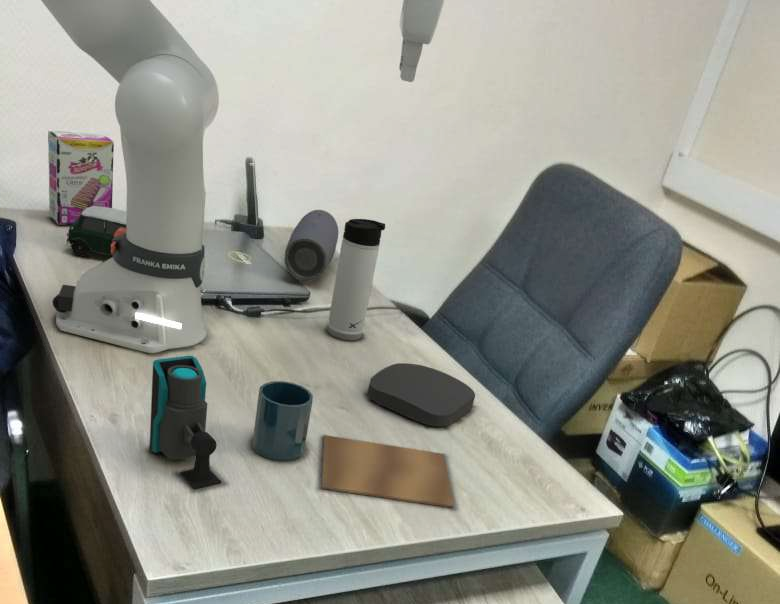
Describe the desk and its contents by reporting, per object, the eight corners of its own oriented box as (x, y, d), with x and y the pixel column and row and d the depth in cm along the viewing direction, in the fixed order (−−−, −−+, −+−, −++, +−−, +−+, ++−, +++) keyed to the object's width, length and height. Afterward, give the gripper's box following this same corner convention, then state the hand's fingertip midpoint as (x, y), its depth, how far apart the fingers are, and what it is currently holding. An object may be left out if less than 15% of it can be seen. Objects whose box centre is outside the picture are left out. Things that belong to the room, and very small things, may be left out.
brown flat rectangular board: (321, 488, 101) (322, 486, 100) (323, 437, 111) (324, 435, 111) (452, 507, 103) (453, 505, 103) (442, 456, 114) (443, 453, 114)
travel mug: (358, 344, 140) (381, 229, 129) (322, 334, 141) (342, 218, 130) (366, 332, 146) (389, 221, 134) (332, 323, 146) (351, 210, 135)
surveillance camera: (193, 399, 88) (150, 360, 93) (186, 491, 94) (147, 449, 100) (238, 392, 91) (194, 354, 97) (228, 481, 98) (188, 441, 103)
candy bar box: (58, 226, 158) (56, 137, 149) (49, 218, 161) (46, 129, 151) (113, 226, 165) (114, 140, 156) (103, 217, 167) (103, 133, 158)
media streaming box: (440, 434, 119) (445, 416, 117) (357, 397, 124) (361, 379, 122) (479, 404, 130) (484, 387, 129) (402, 371, 135) (406, 354, 133)
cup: (250, 456, 103) (257, 401, 99) (254, 430, 109) (261, 377, 104) (302, 464, 104) (311, 410, 100) (304, 438, 110) (313, 386, 106)
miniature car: (161, 274, 148) (163, 230, 144) (62, 253, 147) (61, 208, 142) (173, 259, 156) (176, 217, 151) (79, 239, 154) (79, 196, 150)
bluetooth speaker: (294, 249, 177) (301, 202, 171) (336, 258, 177) (344, 212, 172) (278, 281, 158) (284, 230, 152) (324, 291, 158) (333, 241, 153)
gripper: (403, -55, 106) (382, 62, 114) (406, -58, 90) (382, 79, 97) (449, -43, 107) (425, 73, 115) (461, -44, 90) (432, 91, 98)
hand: (405, 76), depth 106 cm, fingers open, 8 cm apart
